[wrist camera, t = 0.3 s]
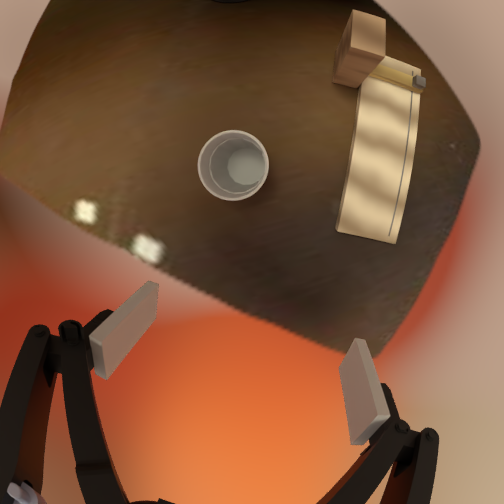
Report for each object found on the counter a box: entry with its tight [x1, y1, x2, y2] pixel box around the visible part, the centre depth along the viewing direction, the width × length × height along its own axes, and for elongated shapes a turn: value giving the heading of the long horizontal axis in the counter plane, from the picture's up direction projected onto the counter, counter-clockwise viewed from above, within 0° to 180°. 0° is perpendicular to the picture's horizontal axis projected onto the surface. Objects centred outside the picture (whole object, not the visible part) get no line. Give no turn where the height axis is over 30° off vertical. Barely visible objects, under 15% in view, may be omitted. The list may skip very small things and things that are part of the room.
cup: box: [198, 130, 269, 201], centre depth 34 cm, size 8×8×12 cm
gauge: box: [332, 10, 426, 94], centre depth 26 cm, size 6×14×14 cm, turn 81°
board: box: [335, 56, 421, 244], centre depth 35 cm, size 30×10×2 cm, turn 171°
